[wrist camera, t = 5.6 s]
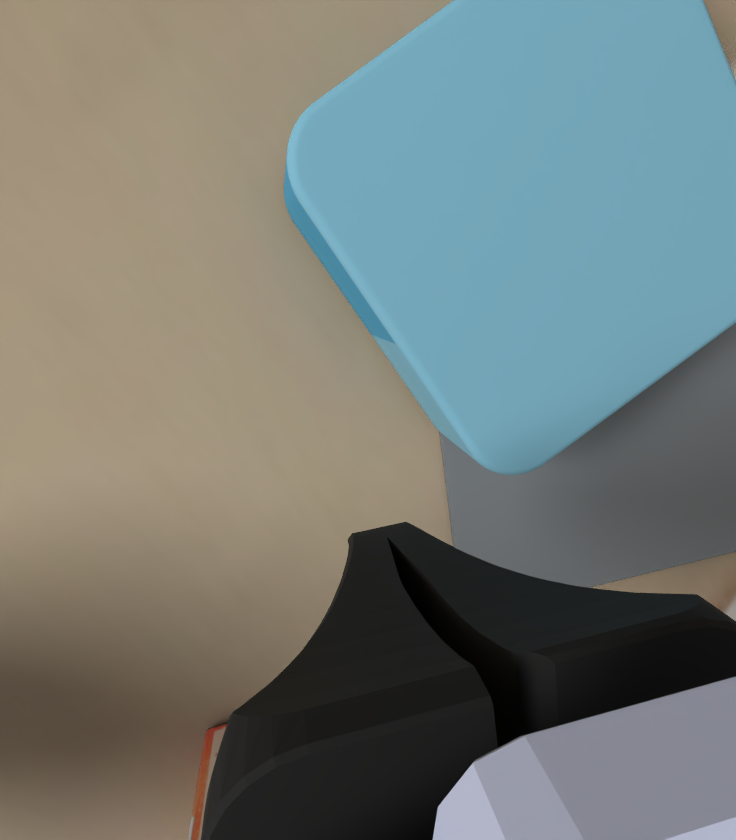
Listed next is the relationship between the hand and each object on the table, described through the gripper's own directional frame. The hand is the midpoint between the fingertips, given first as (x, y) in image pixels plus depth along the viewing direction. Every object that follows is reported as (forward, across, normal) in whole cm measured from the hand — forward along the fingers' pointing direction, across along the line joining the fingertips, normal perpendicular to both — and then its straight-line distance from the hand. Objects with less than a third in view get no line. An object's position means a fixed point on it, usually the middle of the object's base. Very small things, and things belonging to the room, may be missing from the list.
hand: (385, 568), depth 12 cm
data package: (+6, -2, -4) cm, 8 cm away
